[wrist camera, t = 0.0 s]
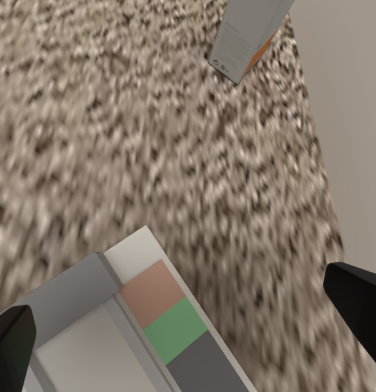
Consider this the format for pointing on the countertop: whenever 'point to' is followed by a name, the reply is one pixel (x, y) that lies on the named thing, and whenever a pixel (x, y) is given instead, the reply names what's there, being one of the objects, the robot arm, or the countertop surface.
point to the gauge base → (126, 328)
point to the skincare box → (246, 34)
